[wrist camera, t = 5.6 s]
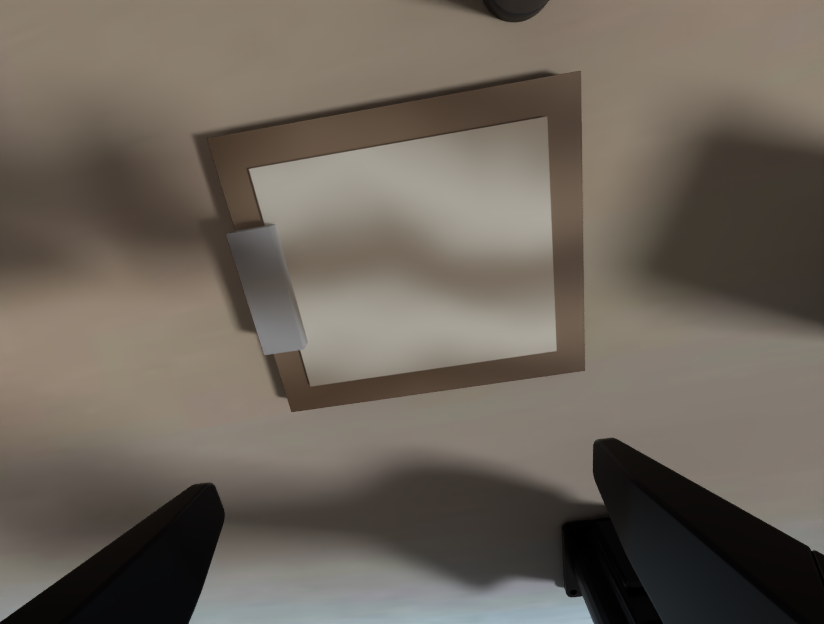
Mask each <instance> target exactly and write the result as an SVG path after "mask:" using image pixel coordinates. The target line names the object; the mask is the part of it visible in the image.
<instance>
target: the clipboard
mask: <svg viewBox="0 0 824 624" xmlns="http://www.w3.org/2000/svg"><path fill="white" fill-rule="evenodd" d="M207 141H208V144H209V148H210V151H211V154H212V157H213V161H214V164H215V167H216V170H217V173H218V177H219V180H220V183H221V186H222V190H223V193H224V196H225V199H226V202H227V206H228V209H229V212H230V215H231V219H232V222H233V225H234V228H235V231H233V232H230V233H227V234H226V237H227V240H228V243H229V246H230V249H231V252H232V255H233V258H234V262H235V265H236V268H237V271H238V274H239V277H240V280H241V283H242V287H243V290H244V293H245V296H246V299H247V302H248V305H249V309H250V312H251V315H252V318H253V321H254V324H255V327H256V330H257V334H258V337H259V340H260V343H261V346H262V349H263V352H264V355H270V354H274V357H275V360H276V364H277V367H278V370H279V373H280V376H281V380H282V383H283V386H284V389H285V393H286V396H287V399H288V402H289V405H290V409H291V412H296V411H303V410H310V409H317V408H324V407H331V406H338V405H345V404H352V403H360V402H367V401H374V400H381V399H388V398H395V397H402V396H409V395H416V394H423V393H430V392H437V391H444V390H451V389H459V388H466V387H473V386H480V385H487V384H494V383H501V382H508V381H515V380H522V379H529V378H536V377H543V376H550V375H558V374H565V373H572V372H579V371H585V342H584V268H583V195H582V121H581V71H576V72H570V73H565V74H559V75H554V76H548V77H543V78H537V79H532V80H526V81H521V82H515V83H509V84H504V85H498V86H493V87H487V88H482V89H476V90H471V91H465V92H460V93H454V94H449V95H443V96H438V97H432V98H427V99H421V100H416V101H410V102H405V103H399V104H393V105H388V106H382V107H377V108H371V109H366V110H360V111H355V112H349V113H344V114H338V115H333V116H327V117H322V118H316V119H311V120H305V121H300V122H294V123H288V124H283V125H277V126H272V127H266V128H261V129H255V130H250V131H244V132H239V133H233V134H228V135H222V136H217V137H211V138H207Z"/></svg>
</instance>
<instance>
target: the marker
mask: <svg viewBox="0 0 824 624" xmlns="http://www.w3.org/2000/svg"><path fill="white" fill-rule="evenodd" d="M483 1H484V3H485V5H486V7H487V8H488V9H489V11H490V12H491V13H492V14H494V15H495V16H496V17H498V18H499V19H501V20H504V21H508V22H521V21H525V20H527V19H530V18H531V17H533V16H535V15H536V14H537V13H539V12H540V11H541V10H542V9H543V8H544V6H545V5H546V4H547V2H548V1H549V0H483Z"/></svg>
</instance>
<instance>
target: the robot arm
mask: <svg viewBox="0 0 824 624" xmlns="http://www.w3.org/2000/svg"><path fill="white" fill-rule="evenodd" d="M593 475H594V479H595V482H596V485H597V487H598V490H599V492H600V494H601V497H602V499H603V501H604V504H605V506H606V508H607V511H608V513H609V516H610V518H604V519H596V520H588V521H580V522H571V523H566V524H565V525H563V527H562V550H563V573H564V588H565V591H566V594H567V595H568V596H569V597H580V596H583V598H584V600H585V603H586V605H587V608H588V610H589V613H590V615H591V618H592V620H593V623H594V624H824V555H823V554H821V553H819V552H818V551H815V550H813V551H811V549H810V548H809V547H808V546H807V545H805V544H803V543H801V542H799V541H798V540H796V539H794V538H792V537H791V536H789V535H787V534H785V533H783V532H782V531H780V530H778V529H776V528H775V527H773V526H771V525H769V524H767V523H766V522H764V521H762V520H760V519H758V518H757V517H755V516H753V515H751V514H750V513H748V512H746V511H744V510H742V509H741V508H739V507H737V506H735V505H734V504H732V503H730V502H728V501H726V500H725V499H723V498H721V497H719V496H717V495H716V494H714V493H712V492H710V491H709V490H707V489H705V488H703V487H701V486H700V485H698V484H696V483H694V482H693V481H691V480H689V479H687V478H685V477H684V476H682V475H680V474H678V473H676V472H675V471H673V470H671V469H669V468H668V467H666V466H664V465H662V464H660V463H659V462H657V461H655V460H653V459H652V458H650V457H648V456H646V455H644V454H643V453H641V452H639V451H637V450H635V449H634V448H632V447H630V446H628V445H627V444H625V443H623V442H621V441H619V440H618V439H615V438H606V439H597V440H596V441H595V442H594V444H593ZM224 518H225V512H224V508H223V505H222V503H221V500H220V497H219V495H218V492H217V490H216V487H215V485H214V484H212V483H200V484H194V485H192V486H190V487H189V488H187V489H186V490H185V491H183V492H182V493H180V494H179V495H178V496H176V497H175V498H173V499H172V500H171V501H169V502H168V503H166V504H165V505H164V506H162V507H161V508H159V509H158V510H157V511H155V512H154V513H152V514H151V515H150V516H148V517H147V518H145V519H144V520H143V521H141V522H140V523H138V524H137V525H136V526H134V527H133V528H131V529H130V530H129V531H127V532H126V533H124V534H123V535H122V536H120V537H119V538H117V539H116V540H115V541H113V542H112V543H110V544H109V545H108V546H106V547H105V548H103V549H102V550H101V551H99V552H98V553H96V554H95V555H94V556H92V557H91V558H89V559H88V560H87V561H85V562H84V563H82V564H81V565H80V566H78V567H77V568H75V569H74V570H72V571H71V572H70V573H68V574H67V575H65V576H64V577H63V578H61V579H60V580H58V581H57V582H56V583H54V584H53V585H51V586H50V587H49V588H47V589H46V590H44V591H43V592H42V593H40V594H39V595H37V596H36V597H35V598H33V599H32V600H30V601H29V602H28V603H26V604H25V605H23V606H22V607H21V608H19V609H18V610H16V611H15V612H14V613H12V614H11V615H9V616H8V617H7V618H5V619H4V620H2V621H1V622H0V624H189V621H190V619H191V616H192V614H193V612H194V609H195V607H196V604H197V602H198V599H199V597H200V594H201V591H202V588H203V585H204V583H205V579H206V576H207V573H208V570H209V567H210V564H211V561H212V558H213V554H214V551H215V548H216V545H217V542H218V539H219V536H220V533H221V529H222V526H223V523H224Z"/></svg>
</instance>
